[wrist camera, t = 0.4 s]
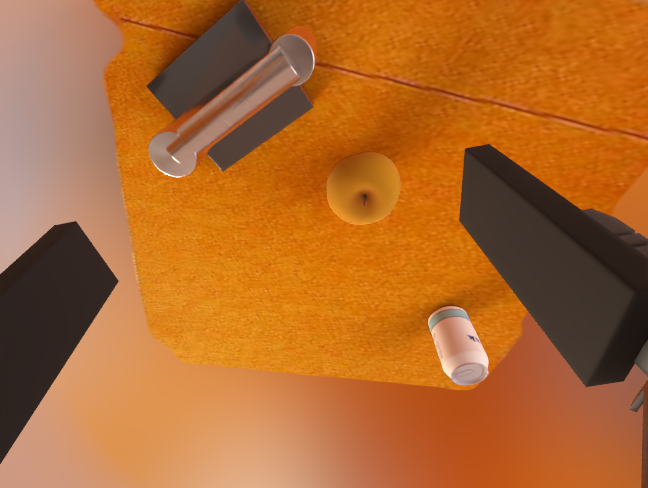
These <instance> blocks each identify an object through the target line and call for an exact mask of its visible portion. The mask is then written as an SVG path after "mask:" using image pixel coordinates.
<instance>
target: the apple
mask: <svg viewBox="0 0 648 488" xmlns="http://www.w3.org/2000/svg"><path fill="white" fill-rule="evenodd" d="M400 185H401V181H400V177H399V172H398V170H397V169H396V167H395V165H394V163H393V162H392V161H391V160H390V159H389V158H388V157H386V156H384V155H382V154H380V153H377V152H364V153H360V154H356V155H352V156H349V157H346V158H344V159H342V160H341V161H339V162H338V163H337V164H336V165H335V167H334V168H333V170H332V171H331V173H330V175H329V177H328V180H327V189H326V191H327V200H328V203H329V206H330V208H331V209H332V210H333V212H334V213H336V214H337V215H338V216H339V217H340V218H341V219H343V220H344V221H346V222H348V223H350V224H356V225H362V224H370V223H375V222H377V221H379V220H382V219H383V218H384V217H386V216H387V215H388V214H389V213H390V212H391V211H392V209H393V208H394V206H395V205H396V202H397V199H398V196H399V193H400Z"/></svg>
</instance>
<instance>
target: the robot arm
mask: <svg viewBox="0 0 648 488" xmlns="http://www.w3.org/2000/svg"><path fill="white" fill-rule="evenodd" d="M459 221H460V222H461V223H462V225H463V226H464V227H465V229H466V230H467V231H468V233H469V234H470V235H471V237H472V238H473V239H474V241H475V242H476V243H477V244H478V246H479V247H480V248H481V250H482V251H483V252H484V254H485V255H486V256H487V258H488V259H489V260H490V262H491V263H492V264H493V265H494V267H495V268H496V269H497V271H498V272H499V273H500V275H501V276H502V277H503V279H504V280H505V281H506V283H507V284H508V285H509V286H510V288H511V289H512V290H513V292H514V293H515V294H516V296H517V297H518V298H519V300H520V301H521V302H522V304H523V305H524V306H525V307H526V309H527V310H528V311H529V313H530V314H531V315H532V317H533V318H534V319H535V321H536V322H537V323H538V325H539V326H540V327H541V328H542V330H543V331H544V332H545V334H546V335H547V336H548V338H549V339H550V340H551V342H552V343H553V344H554V346H555V347H556V348H557V349H558V351H559V352H560V353H561V355H562V356H563V357H564V359H565V360H566V361H567V363H568V364H569V365H570V366H571V368H572V369H573V371H574V372H575V373H576V374H577V376H578V377H579V378H580V380H581V381H582V382H583V384H584V385H585V386H586V387H589V386H595V385H602V384H608V383H614V382H621V381H624V380H625V378H626V377H627V375H628V373H629V372H630V370H631V369H632V367H633V366H634V364H636V365H637V366H638V367H639V368H640V369H641V370H642V371H643V372H644V373H645V374H646V375H647V376H648V239H647V238H645V237H644V236H642V235H641V234H639V233H637V234H636V233H635V230H633V229H632V228H630V227H629V226H627V225H626V224H624V223H623V222H621V221H620V220H618V219H617V218H615V217H612V216H609V215H607V214H604V213H601V212H599V211H596V210H593V209H587V210H581V209H579V208H578V207H576V206H575V205H574V204H572V203H571V202H569V201H568V200H567V199H565V198H564V197H562V196H561V195H560V194H558V193H557V192H555V191H554V190H553V189H551V188H550V187H548V186H547V185H546V184H544V183H543V182H541V181H540V180H539V179H537V178H536V177H534V176H533V175H532V174H530V173H529V172H527V171H526V170H525V169H523V168H522V167H520V166H519V165H518V164H516V163H515V162H513V161H512V160H511V159H509V158H508V157H506V156H505V155H504V154H502V153H501V152H499V151H498V150H497V149H495V148H494V147H492V146H491V145H490V144H487V145H482V146H476V147H471V148H466V149H465V156H464V168H463V181H462V193H461V206H460V218H459ZM117 283H118V280H117V278H116V277H115V275H114V274H113V272H112V271H111V270H110V268H109V267H108V265H107V264H106V263H105V261H104V260H103V258H102V257H101V256H100V254H99V253H98V251H97V250H96V249H95V247H94V246H93V245H92V243H91V242H90V241H89V239H88V237H87V236H86V235H85V233H84V232H83V230H82V229H81V228H80V226H79V225H78V223H77V222H76V221H75V222H70V223H65V224H60V225H54V226H53V227H52V228H51V229H50V230H49V231H48V232H47V233H46V234H44V235H43V236H42V237H41V238H40V239H39V240H38V241H37V242H36V243H35V244H34V245H33V246H31V247H30V248H29V249H28V250H27V251H26V252H25V253H23V254H22V255H21V256H20V257H19V258H18V259H17V260H16V261H15V262H14V263H12V264H11V265H10V266H9V267H8V268H7V269H6V270H5V271H4V272H2V273H1V274H0V464H1V462H2V461H3V459H4V458H5V456H6V454H7V453H8V451H9V450H10V448H11V447H12V445H13V444H14V442H15V441H16V439H17V437H18V436H19V434H20V433H21V431H22V430H23V428H24V427H25V425H26V424H27V422H28V420H29V419H30V417H31V416H32V414H33V413H34V411H35V410H36V408H37V407H38V405H39V403H40V402H41V400H42V399H43V397H44V396H45V394H46V393H47V391H48V390H49V388H50V387H51V385H52V383H53V382H54V380H55V379H56V377H57V376H58V374H59V373H60V371H61V369H62V368H63V366H64V365H65V363H66V362H67V360H68V359H69V357H70V356H71V354H72V353H73V351H74V349H75V348H76V346H77V345H78V343H79V342H80V340H81V339H82V337H83V336H84V334H85V332H86V331H87V329H88V328H89V326H90V325H91V323H92V322H93V320H94V318H95V317H96V315H97V314H98V312H99V311H100V309H101V308H102V306H103V304H104V303H105V301H106V300H107V298H108V297H109V295H110V294H111V292H112V291H113V289H114V288H115V286H116V285H117ZM642 404H643V441H642V442H643V443H642V487H641V488H648V380H647V382H646V383H645V384H644V386H643V387H642V389H641V390H640V392H639V393H638V394H637V396H636V398H635V399H634V400H633V402H632V405H631V407H630V410H633V411H635V412H637V411H638V409H639V408H640V407H641V405H642Z"/></svg>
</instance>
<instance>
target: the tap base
mask: <svg viewBox="0 0 648 488" xmlns="http://www.w3.org/2000/svg"><path fill="white" fill-rule="evenodd" d="M273 43H274V41H273V39H272V38H271V36H270V35H269V33H268V32H267V30H266V28H265V27H264V25H263V24H262V22H261V21H260V19H259V18H258V16H257V15H256V13H255V11H254V10H253V8H252V7H251V5H250V4H249V2H248V1H247V0H240V1H238V2H237V3H236V4H235V5H234V6H233V7H232V8H231V9H230V10H229V11H228V12H226V13H225V14H224V15H223V16H222V17H221V18H220V19H219V20H218V21H217V22H216V23H214V24H213V25H212V26H211V27H210V28H209V29H208V30H207V31H206V32H205V33H203V34H202V35H201V36H200V37H199V38H198V39H197V40H196V41H195V42H194V43H193V44H191V45H190V46H189V47H188V48H187V49H186V50H185V51H184V52H183V53H182V54H181V55H179V56H178V57H177V58H176V59H175V60H174V61H173V62H172V63H171V64H170V65H169V66H167V67H166V68H165V69H164V70H163V71H162V72H161V73H160V74H159V75H158V76H156V77H155V78H154V79H153V80H152V81H151V82H150V83H149V84H148V85H147V88H148V89H149V90H150V91H151V92H152V93H153V94H154V95H155V97H156V98H157V99H158V100H159V101H160V102H161V103H162V104H163V105H164V107H165V108H166V109H167V110H168V111H169V112H170V113H171V114H172V115H173V117H174V118H175V119H176V118H178V117H179V116H180V115H182V114H183V113H184V112H185V111H187V110H188V109H189V108H191V107H192V106H193V105H194V104H196V103H197V102H198V101H200V100H201V99H202V98H203V97H205V96H206V95H207V94H209V93H210V92H211V91H212V90H214V89H215V88H216V87H218V86H219V85H220V84H222V83H224V82H232V83H233V82H234V81H235V80H237V79H238V78H239V77H240V76H241V75H243V74H244V73H245V72H246V71H248V70H249V69H250V68H251V67H253V66H254V65H255V64H256V63H257V62H259V61H260V60H261V59H262V58H264V57H265V56H266V55H267V54H268V53H269V51H270V48H271V46H272V44H273ZM313 105H314V103H313V101H312V99H311V98H310V96H309V95H308V93H307V92H306V90H305V89H304V87H303V86H302V84H301V85H298V86H291V87H290V88H289V89H287V90H286V91H285V92H283V93H282V94H281V95H279V96H278V97H277V98H275V99H274V100H273V101H271V102H270V103H269V104H267V105H266V106H265V107H263V108H262V109H261V110H259V111H258V112H257V113H255V114H254V115H253V116H251V117H250V118H249V119H247V120H246V121H245V122H244V123H242V124H241V125H240V126H238V127H237V128H236V129H234V130H233V131H232V132H230V133H229V134H228V135H226V136H225V137H224V138H222V139H221V140H220V141H218V142H217V143H216V144H214V145H213V146H212V148H211V149H210V150H209V152H208V153H207V154H208V156H209V157H210V158H211V159H212V160H213V161H214V162H215V163H216V164H217V166H218V167H219V168H220V169H221V170H222V171H224V170H226V169H227V168H229V167H230V166H231V165H233V164H234V163H236V162H237V161H238V160H240V159H241V158H243V157H244V156H245V155H247V154H248V153H250V152H251V151H252V150H254V149H255V148H257V147H258V146H260V145H261V144H262V143H264V142H265V141H267V140H268V139H269V138H271V137H272V136H274V135H275V134H276V133H278V132H279V131H281V130H282V129H283V128H285V127H286V126H288V125H289V124H290V123H292V122H293V121H295V120H296V119H297V118H299V117H300V116H302V115H303V114H304V113H306V112H307V111H309V110H310V109H311V108H313Z"/></svg>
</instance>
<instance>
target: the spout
mask: <svg viewBox="0 0 648 488" xmlns="http://www.w3.org/2000/svg"><path fill="white" fill-rule="evenodd" d="M316 50H317V41H316V38H315V35H314V34H313V32H312V31H311V30H310V29H309V28H307V27H305V26H295V27H292V28H291V29H290V30H288V31H287V32H286V33H284V34H283V35H282V36H280V37H279V38H278V39H276V40H275V41H274V43H273V44H272V46H271V48H270V51H269V53H268V54H267V55H266V56H265V57H264V58H262V59H261V60H260V61H259V62H257V63H256V64H255V65H254V66H253V67H251V68H250V69H249V70H248V71H246V72H245V73H244V74H243V75H241V76H240V77H239V78H238V79H237V80H235V81H234V82H233V83H232V82H224V83H222V84H220V85H219V86H218V87H216V88H215V89H214V90H212V91H211V92H210V93H209V94H207V95H206V96H205V97H203V98H202V99H201V100H200V101H198V102H197V103H196V104H194V105H193V106H192V107H191V108H189V109H188V110H187V111H185V112H184V113H183V114H182V115H180V116H179V117H178V118H176V119H175V120H174V121H173V122H171V123H170V124H169V125H167V126H166V127H165V128H164V129H162V130H161V131H160V132H158V133H157V134H156V135H155V136H153V137H152V139H151V140H150V142H149V147H148V150H149V156H150V158H151V160H152V162H153V164H154V165H155V166H156V167H157V168H158V169H159V170H160V171H161V172H163V173H165V174H167V175H169V176H173V177H184V176H187V175H189V174H191V173H192V172H193V171H194V170H195V168H196V167H197V166H198V164H199V163H200V162H201V161H202V159H203V158H204V157H205V155H206V154H207V153H208V152H209V150H210V149H211V148H212V146H213V145H214V144H216V143H217V142H218V141H220V140H221V139H222V138H224V137H225V136H226V135H228V134H229V133H230V132H232V131H233V130H234V129H236V128H237V127H238V126H240V125H241V124H242V123H244V122H245V121H246V120H247V119H249V118H250V117H251V116H253V115H254V114H255V113H257V112H258V111H259V110H261V109H262V108H263V107H265V106H266V105H267V104H269V103H270V102H271V101H273V100H274V99H275V98H277V97H278V96H279V95H281V94H282V93H283V92H285V91H286V90H287V89H289V88H290V87H291V86H298V85H301V84H303V83H305V82H306V81H307V80H308V79H309V78H310V76H311V75H312V73H313V70H314V65H315V58H316Z"/></svg>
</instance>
